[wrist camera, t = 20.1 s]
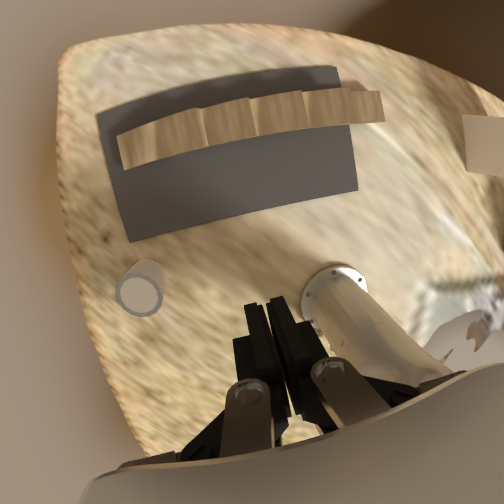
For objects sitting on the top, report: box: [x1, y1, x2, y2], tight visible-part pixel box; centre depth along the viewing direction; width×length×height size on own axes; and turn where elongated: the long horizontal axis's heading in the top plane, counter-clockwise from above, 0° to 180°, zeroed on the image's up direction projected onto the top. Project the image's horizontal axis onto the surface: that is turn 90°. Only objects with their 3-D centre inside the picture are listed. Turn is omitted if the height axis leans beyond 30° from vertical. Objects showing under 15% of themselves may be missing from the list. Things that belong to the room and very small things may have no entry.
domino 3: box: [222, 90, 309, 144], centre depth 34 cm, size 2×5×12 cm
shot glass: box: [116, 259, 166, 317], centre depth 40 cm, size 7×7×7 cm
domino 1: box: [116, 108, 209, 170], centre depth 33 cm, size 2×5×12 cm
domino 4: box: [273, 87, 357, 134], centre depth 34 cm, size 2×5×12 cm
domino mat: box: [97, 67, 358, 243], centre depth 38 cm, size 20×36×1 cm, turn 101°
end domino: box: [310, 91, 385, 129], centre depth 37 cm, size 2×5×12 cm
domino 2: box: [169, 97, 258, 157], centre depth 34 cm, size 2×5×12 cm
